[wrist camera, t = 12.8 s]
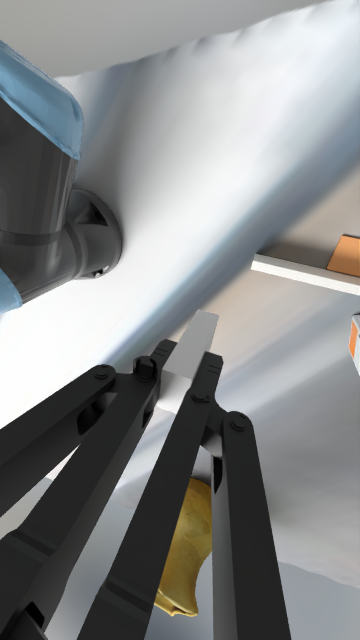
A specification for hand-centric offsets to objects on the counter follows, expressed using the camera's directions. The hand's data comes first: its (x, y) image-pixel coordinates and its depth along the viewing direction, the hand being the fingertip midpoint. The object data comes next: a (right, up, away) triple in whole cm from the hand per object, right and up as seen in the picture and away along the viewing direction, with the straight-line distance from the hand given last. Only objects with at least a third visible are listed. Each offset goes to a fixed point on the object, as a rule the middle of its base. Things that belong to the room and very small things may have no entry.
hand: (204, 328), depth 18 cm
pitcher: (+3, -50, +57) cm, 76 cm away
